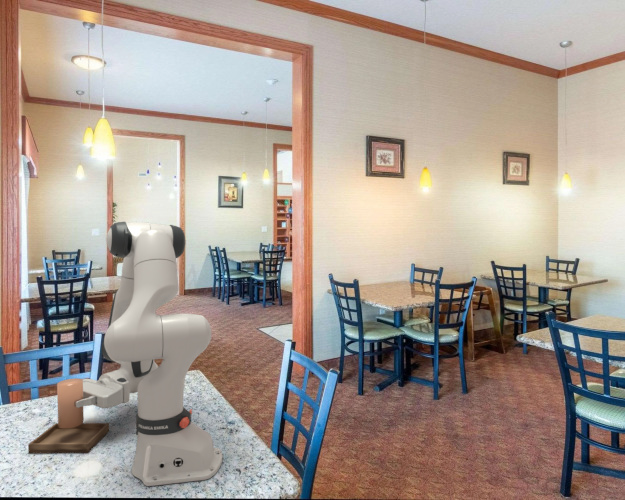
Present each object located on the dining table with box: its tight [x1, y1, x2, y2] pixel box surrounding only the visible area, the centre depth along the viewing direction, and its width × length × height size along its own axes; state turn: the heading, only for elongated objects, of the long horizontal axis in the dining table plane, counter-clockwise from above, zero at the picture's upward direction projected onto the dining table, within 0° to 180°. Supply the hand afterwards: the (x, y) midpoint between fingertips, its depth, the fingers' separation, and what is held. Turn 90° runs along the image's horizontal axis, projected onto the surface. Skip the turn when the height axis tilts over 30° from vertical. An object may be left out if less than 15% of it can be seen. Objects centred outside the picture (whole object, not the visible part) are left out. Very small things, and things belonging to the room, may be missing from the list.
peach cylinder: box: [56, 377, 85, 429], centre depth 123 cm, size 6×6×12 cm
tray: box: [27, 422, 110, 454], centre depth 124 cm, size 16×13×2 cm
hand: (67, 401), depth 123 cm, fingers closed on peach cylinder, 6 cm apart
